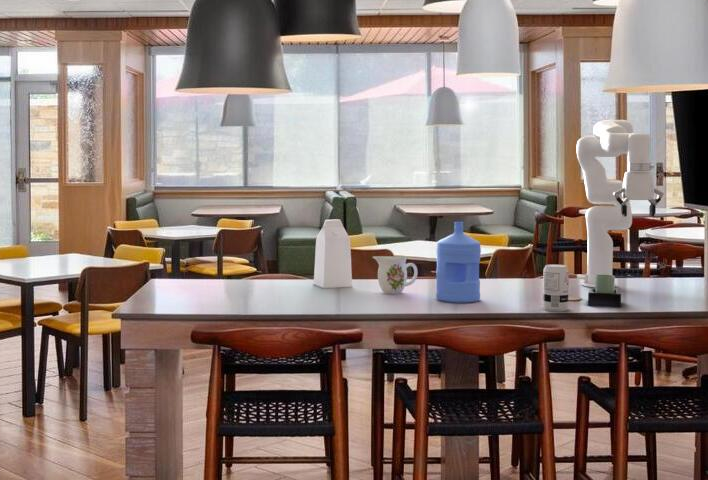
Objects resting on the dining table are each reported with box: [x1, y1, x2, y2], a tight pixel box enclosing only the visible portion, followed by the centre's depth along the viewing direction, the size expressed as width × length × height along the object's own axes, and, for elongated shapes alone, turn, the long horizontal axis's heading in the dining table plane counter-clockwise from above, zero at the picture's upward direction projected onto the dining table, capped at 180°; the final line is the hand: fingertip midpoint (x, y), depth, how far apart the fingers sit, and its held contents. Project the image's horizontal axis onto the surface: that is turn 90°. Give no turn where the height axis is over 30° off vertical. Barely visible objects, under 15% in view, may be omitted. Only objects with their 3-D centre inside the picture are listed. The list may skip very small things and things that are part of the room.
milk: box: [313, 219, 353, 289], centre depth 383 cm, size 12×12×26 cm
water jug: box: [435, 221, 482, 304], centre depth 348 cm, size 16×16×28 cm
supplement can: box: [542, 263, 570, 312], centre depth 328 cm, size 8×8×15 cm
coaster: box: [568, 295, 582, 302], centre depth 352 cm, size 10×10×1 cm
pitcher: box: [372, 255, 419, 295], centre depth 365 cm, size 11×18×14 cm, turn 104°
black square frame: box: [587, 287, 622, 308], centre depth 340 cm, size 11×11×5 cm
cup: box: [594, 274, 616, 293], centre depth 340 cm, size 6×6×10 cm
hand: (638, 216), depth 345 cm, fingers open, 9 cm apart
